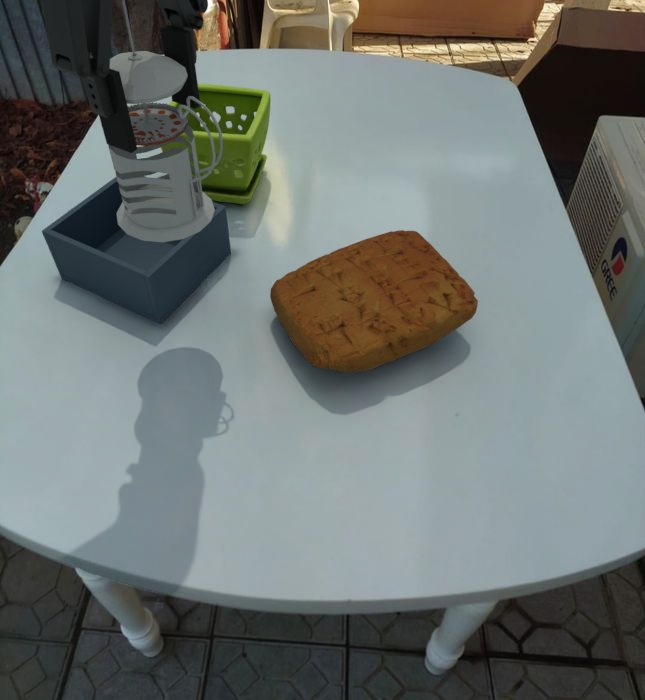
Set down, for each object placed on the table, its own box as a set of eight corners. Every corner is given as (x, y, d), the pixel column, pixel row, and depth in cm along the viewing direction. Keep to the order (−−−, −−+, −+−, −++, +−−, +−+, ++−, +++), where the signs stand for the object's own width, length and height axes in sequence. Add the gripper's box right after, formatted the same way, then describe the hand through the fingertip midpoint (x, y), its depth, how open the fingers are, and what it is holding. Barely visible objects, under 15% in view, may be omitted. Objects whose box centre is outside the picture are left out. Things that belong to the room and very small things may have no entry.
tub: (61, 278, 78) (41, 230, 72) (138, 216, 87) (125, 169, 81) (161, 324, 73) (148, 277, 67) (231, 253, 82) (225, 206, 76)
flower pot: (194, 155, 98) (182, 79, 88) (275, 164, 97) (273, 89, 87) (167, 205, 89) (151, 127, 79) (257, 216, 88) (252, 138, 78)
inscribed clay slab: (407, 260, 83) (415, 214, 76) (479, 344, 73) (495, 298, 67) (261, 307, 76) (258, 260, 70) (319, 406, 66) (321, 362, 60)
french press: (145, 176, 64) (81, -111, 45) (245, 197, 62) (223, -93, 43) (97, 230, 57) (-1, -78, 38) (207, 255, 56) (161, -55, 37)
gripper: (-17, -209, 28) (105, 196, 45) (236, -245, 40) (256, 87, 57) (-120, -226, 30) (34, 167, 47) (149, -254, 42) (193, 68, 59)
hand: (155, 123), depth 52 cm, fingers closed on french press, 8 cm apart
